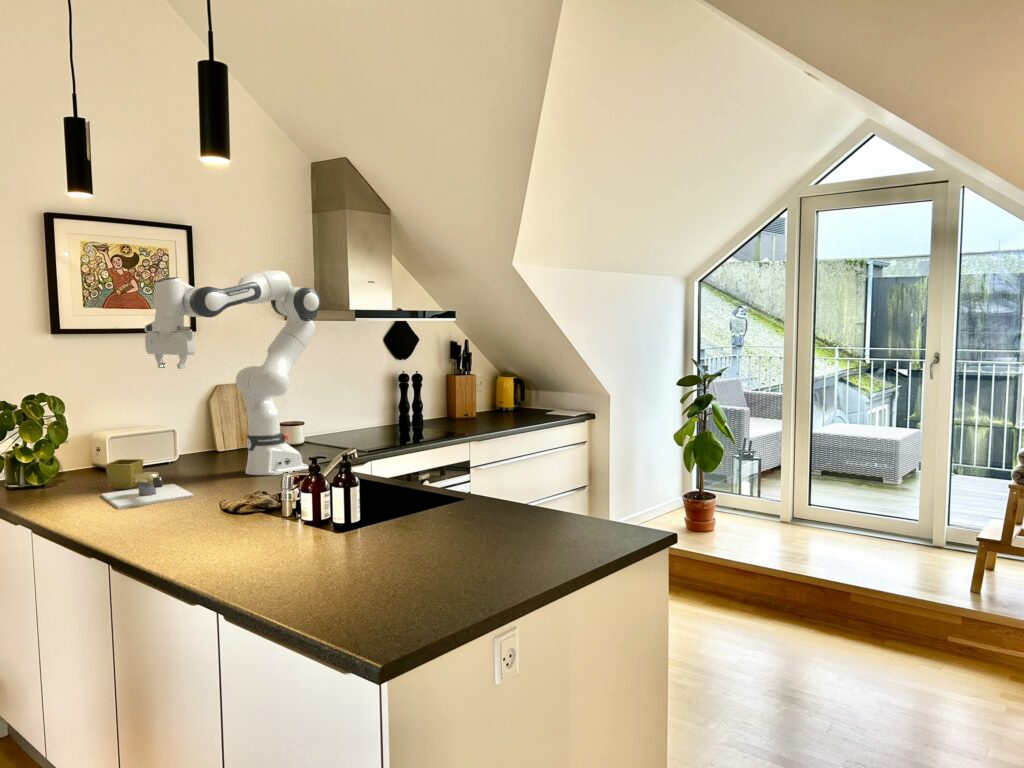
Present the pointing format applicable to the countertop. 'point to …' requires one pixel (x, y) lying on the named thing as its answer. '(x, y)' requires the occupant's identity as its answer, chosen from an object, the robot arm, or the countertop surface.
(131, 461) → the flower pot
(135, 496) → the base
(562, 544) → the countertop surface
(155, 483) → the locking lever
